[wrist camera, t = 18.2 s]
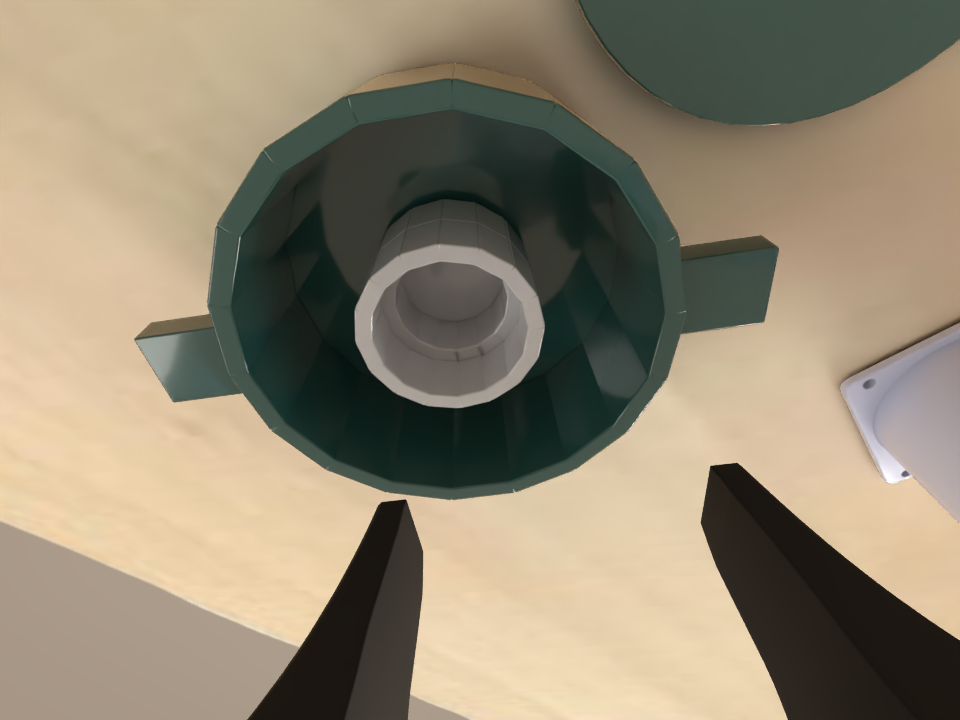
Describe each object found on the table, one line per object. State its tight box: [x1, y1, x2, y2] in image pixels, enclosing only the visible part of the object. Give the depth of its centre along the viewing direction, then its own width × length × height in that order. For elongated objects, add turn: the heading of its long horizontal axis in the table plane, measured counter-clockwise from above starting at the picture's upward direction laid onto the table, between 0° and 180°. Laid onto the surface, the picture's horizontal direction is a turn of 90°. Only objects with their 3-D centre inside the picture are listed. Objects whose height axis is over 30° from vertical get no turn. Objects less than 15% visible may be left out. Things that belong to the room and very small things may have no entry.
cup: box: [355, 199, 545, 408], centre depth 16 cm, size 5×5×4 cm
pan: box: [134, 63, 779, 500], centre depth 16 cm, size 13×18×5 cm
